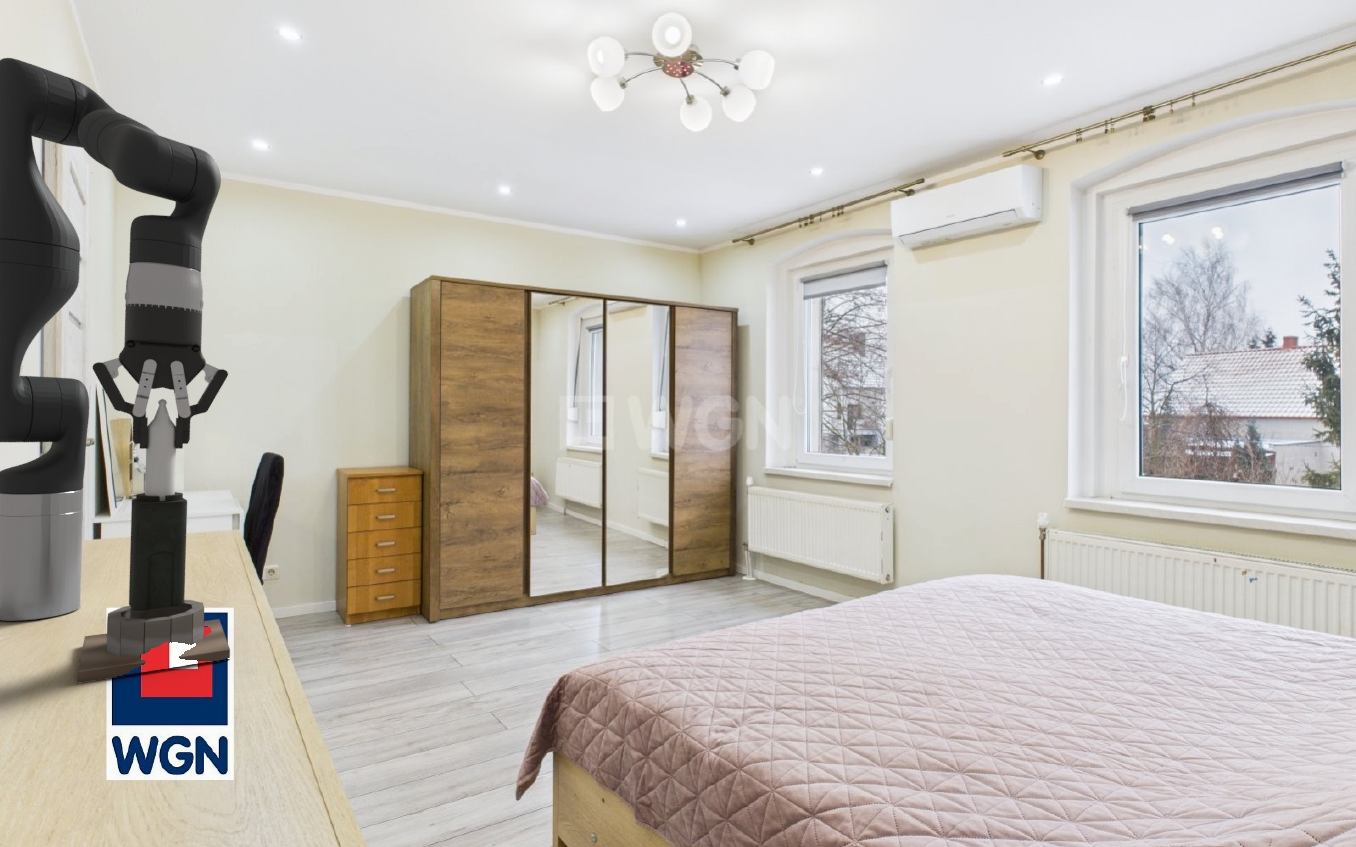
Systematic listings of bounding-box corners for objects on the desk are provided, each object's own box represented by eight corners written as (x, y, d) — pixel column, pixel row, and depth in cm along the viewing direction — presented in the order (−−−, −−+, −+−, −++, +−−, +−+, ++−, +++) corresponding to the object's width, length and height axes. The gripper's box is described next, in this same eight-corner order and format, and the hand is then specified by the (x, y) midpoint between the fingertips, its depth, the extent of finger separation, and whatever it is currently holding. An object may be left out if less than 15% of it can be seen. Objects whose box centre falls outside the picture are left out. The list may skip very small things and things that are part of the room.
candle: (178, 595, 89) (183, 399, 89) (186, 604, 86) (192, 400, 85) (127, 602, 86) (133, 397, 85) (133, 612, 82) (139, 398, 82)
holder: (84, 645, 87) (85, 604, 87) (219, 628, 96) (220, 590, 95) (76, 683, 76) (78, 635, 76) (229, 659, 84) (230, 616, 84)
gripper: (230, 315, 92) (226, 446, 93) (91, 301, 84) (87, 446, 84) (236, 310, 86) (232, 450, 87) (87, 295, 78) (83, 450, 78)
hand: (160, 447), depth 85 cm, fingers closed on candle, 3 cm apart
